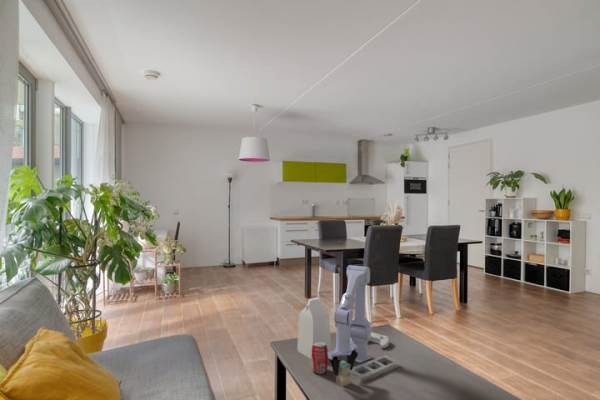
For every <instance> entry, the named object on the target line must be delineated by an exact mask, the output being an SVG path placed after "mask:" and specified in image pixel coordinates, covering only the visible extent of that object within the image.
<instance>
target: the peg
mask: <svg viewBox="0 0 600 400" xmlns="http://www.w3.org/2000/svg"><path fill="white" fill-rule="evenodd" d="M350 367H351V365H350V364H349V363H347V361H346V360H340V364H339V374H338V376H336V375H335V383H336V384H338V385H339V386H341V387H342V388H343V387H345V386H348V385H350V384H351V376H350Z"/></svg>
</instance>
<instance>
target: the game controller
mask: <svg viewBox="0 0 600 400" xmlns="http://www.w3.org/2000/svg"><path fill="white" fill-rule="evenodd" d="M369 342H372V343H375V344H379V347H380V348H381V349H386V348H388V347H389V345H390V338H389V336H387V335H382V334H381V333H375V332H373V331H371V337H370V339H369V340H367V343H369Z"/></svg>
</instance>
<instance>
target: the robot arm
mask: <svg viewBox="0 0 600 400" xmlns="http://www.w3.org/2000/svg"><path fill="white" fill-rule="evenodd" d="M345 275H346V277H347V280H348V282H347V288H346V292H345V293H343V294H342V297H341V298H340V299H341V300H340V302H339V305H338V308H337V309H335V311H334V317H333V321H334V327H335V328H336V331H335V335H336V336H335V342H336V343H335V346H336V347H335V348H333V349H332V350H331V352H329V353H328V360H329V361H328V362H329V363H330V364H331V368H332V372H333V375H335V377H336V376H338V374H339V364H340V362H341V360H340V359H339V356H346V362H347V363H349V364H350V365H351V367H350V370H352V369H353V367H354V365H355V362H357V363H359V364H360V363H361V364H362V363H363V362H365V361H368V360H372V357H371V356H370V355H368V342H367V340H369V339H370V337H371V332H372V327H371V322H370V321H369V319H367V318H366V289H367V288H366V287H367V284H370V281H371V269H370V267H369V266H361V265H360V266H359V265H352V264H349V265H348V266H347V267H346V274H345ZM353 315H354V316H353Z"/></svg>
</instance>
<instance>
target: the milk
mask: <svg viewBox="0 0 600 400" xmlns="http://www.w3.org/2000/svg"><path fill="white" fill-rule="evenodd" d="M315 341H324V342H326V345H327V348H328V353H329V352H331V351H332V343H331V341H332V340H331V325H330V314H329V312H328V310H327V309H326V308H325V306H324V305H323V303H322V301H321V298H320V297H315V298H314V297H313V298H310V299H308V301H307V304H306V306H305V307H304V308H303V309H301V311H300V312H299V315H298V327H297V347H296V348H297V350H296V351H297V352H298V353H300V354H302V355H304V356H305V357H306V358H309V359H310V360H311V354H312V345H313V342H315Z"/></svg>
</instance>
